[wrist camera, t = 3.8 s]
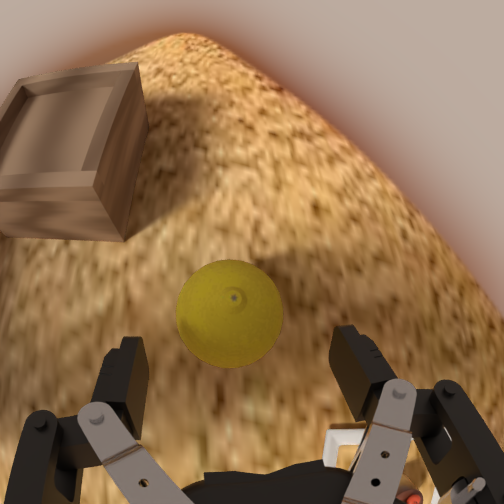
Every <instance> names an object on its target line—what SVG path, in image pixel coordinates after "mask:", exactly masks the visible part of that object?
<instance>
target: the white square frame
mask: <svg viewBox="0 0 504 504" xmlns="http://www.w3.org/2000/svg"><path fill="white" fill-rule="evenodd" d="M444 428H445V427H444ZM445 430H446V428H445ZM364 431H365V429H328V430H327V431H326V437H325V444H324V450H323V457H322V459H323V462H324V465H325V466H329V467H336V461H337V454H338V448H339V446H340V445H357V444H360V441H361V439H362V436H363V433H364ZM446 432H447V430H446ZM447 434H448V432H447ZM448 435H449V434H448ZM449 437H450V436H449ZM450 439H451V437H450ZM411 440H414V439H413V438H411ZM451 441H452V440H451ZM395 497H396V498H398V499H400V500H401V501H403V502H405V503H407V504H423V496H422V493H421V492H420V491H419V490H418V488H417V487H416V486H415V485H414V484H413V483H412V482H411V480H410V479H409V478H408V476H406V475H405V474H403V473H402V476H401V480H400V483H399V486H398V490H397V493H396V496H395ZM439 499H440V496H439V494H438V491H437V489H436V487H435V489H434V494H433V497H432V501H431V504H437V503H438V501H439Z"/></svg>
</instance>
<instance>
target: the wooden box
mask: <svg viewBox="0 0 504 504" xmlns="http://www.w3.org/2000/svg"><path fill="white" fill-rule="evenodd" d="M148 129H149V124H148V119H147V113H146V108H145V102H144V97H143V91H142V85H141V79H140V73H139V66H138V62H130V63H118V64H107V65H98V66H90V67H83V68H75V69H69V70H63V71H57V72H52V73H46V74H41V75H37V76H32V77H27V78H23V79H19V80H18V81H17V82H16V84H15V85H14V87H13V88H12V90H11V92H10V93H9V95H8V96H7V98H6V99H5V101H4V103H3V104H2V106H1V107H0V231H1V232H2V233H3V234H4V235H5V236H7V237H15V238H40V239H64V240H88V241H111V242H124V240H125V234H126V228H127V223H128V217H129V212H130V207H131V202H132V197H133V192H134V187H135V183H136V178H137V174H138V169H139V165H140V161H141V157H142V153H143V149H144V145H145V141H146V137H147V133H148Z"/></svg>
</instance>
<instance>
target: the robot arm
mask: <svg viewBox="0 0 504 504" xmlns="http://www.w3.org/2000/svg"><path fill="white" fill-rule="evenodd" d="M329 364H330V367H331V369H332V372H333V374H334V376H335V378H336V380H337V382H338V384H339V387H340V389H341V391H342V393H343V395H344V397H345V400H346V402H347V404H348V406H349V408H350V410H351V413H352V415H353V417H354V419H355V421H356V422H359V421H363V420H365V421H366V423H367V426H366V428H365V431H364V433H363V436H362V439H361V441H360V444H359V446H358V449H357V451H356V454H355V456H354V458H353V461H352V463H351V465H350V467H349V469H348V471H347V470H344V469H341V468H336V467H329V466H325V465H324V462H323V459H321V460H316V461H310V462H305V463H299V464H294V465H291V466H289V467H286V468H283V469H281V470H278V471H275V472H272V473H270V474H265V475H264V474H253V473H245V472H237V471H227V472H204V480H201V481H198V482H195V483H192V484H190V485H188V486H186V487H184V488H183V489H181V490H180V488H179V487H178V486H177V485H176V484H175V483H174V482H173V481H172V480H171V479H170V478H169V476H168V475H167V474H166V473H165V472H164V471H163V470H162V469H161V467H160V466H159V465H158V464H157V463H156V462H155V460H154V459H153V458H152V457H151V456H150V454H149V453H148V452H147V451H146V449H145V448H144V447H143V446H142V445H139V444H138V443H137V442H136V441H135V440H141V433H142V424H143V416H144V409H145V401H146V394H147V387H148V380H149V366H148V361H147V357H146V353H145V348H144V344H143V339H142V337H123V339H122V342H121V345H120V349H114V348H112V349H111V350H110V351H109V352H108V354H107V355H106V356H105V357H104V360H103V363H102V368H101V370H100V373H99V374H100V375H99V376H98V379H97V383H96V386H95V389H94V392H93V396H92V399H91V402H90V403H89V404H87V405H85V406H84V407H82V408H81V410H80V411H79V413H78V415H75V416H70V417H64V418H56V416H55V415H54V414H53V413H52V412H50V411H47V410H39V411H35V412H33V413H32V414H31V415H29V416H28V418H27V419H26V421H25V424H24V427H23V431H22V434H21V437H20V440H19V444H18V447H17V451H16V454H15V458H14V462H13V465H12V469H11V473H10V478H9V482H8V486H7V491H6V496H5V500H4V504H80V495H81V485H82V476H83V468H88V467H94V466H100V465H103V466H104V467H105V469H106V470H107V472H108V473H109V475H110V476H111V478H112V479H113V481H114V482H115V484H116V485H117V487H118V488H119V489H120V491H121V492H122V494H123V495H124V496H125V498H126V499H127V500H128V502H129V503H130V504H407V503H405V502H403V501H401V500H400V499H398V498H396V497H395V496H396V493H397V490H398V486H399V483H400V480H401V476H402V473H403V469H404V466H405V462H406V458H407V455H408V451H409V447H410V442H411V438H413V439H414V441H415V443H416V445H417V448H418V450H419V452H420V454H421V456H422V458H423V460H424V463H425V465H426V467H427V469H428V471H429V474H430V476H431V478H432V480H433V482H434V485H435V487H436V489H437V491H438V494H439V496H440V499H439V501H438V503H437V504H504V453H503V451H502V449H501V448H500V446H499V444H498V443H497V441H496V439H495V438H494V436H493V435H492V433H491V431H490V430H489V428H488V427H487V425H486V423H485V422H484V420H483V419H482V417H481V416H480V414H479V413H478V411H477V410H476V408H475V407H474V405H473V404H472V402H471V401H470V399H469V398H468V396H467V395H466V393H465V392H464V390H463V389H462V388H461V386H460V385H459V384H457V383H456V382H454V381H451V380H441V381H439V382H437V383H436V385H435V386H434V388H433V389H415V387H414V386H413V385H412V384H411V383H410V382H408V381H406V380H403V379H398V378H397V376H396V375H395V373H394V372H393V370H392V369H391V367H390V365H389V364H388V362H387V361H386V359H385V358H384V357H383V355H382V353H381V352H380V350H378V347H377V346H376V344H375V343H374V341H373V340H371V339H370V338H368V337H367V336H366V335H364V334H363V335H360V334H359V333H358V331H357V330H356V328H355V327H354V325H343V326H336V327H335V328H334V331H333V336H332V341H331V346H330V350H329ZM444 427H445V428H446V430H447V432H448V434H449V435H448V434H447V432H446V430H445V428H444ZM449 436H450V437H451V439H450V437H449ZM451 440H452V441H451Z"/></svg>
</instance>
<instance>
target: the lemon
mask: <svg viewBox="0 0 504 504" xmlns="http://www.w3.org/2000/svg"><path fill="white" fill-rule="evenodd" d="M282 323H283V305H282V301H281V297H280V293H279V291H278V290H277V288H276V286H275V284H274V282H273V281H272V280H271V279H270V278H269V277H268V276H267V275H266V273H265V272H263V271H262V270H260V269H259V268H257V267H256V266H254V265H252V264H249V263H247V262H244V261H239V260H230V259H229V260H221V261H216V262H213V263H210V264H207V265H205V266H203V267H202V268H201V269H199V270H198V271H196V272H195V273H194V274H193V275H192V276H191V277H190V278H189V279H188V281H187V282H186V283H185V284H184V286H183V288H182V290H181V292H180V294H179V297H178V301H177V306H176V324H177V327H178V331H179V334H180V337H181V339H182V340H183V342H184V343H185V345H186V346H187V348H188V350H190V351H191V352H192V353H193V354H194V355H195V356H196V357H197V358H198V359H200V360H202V361H204V362H206V363H208V364H210V365H213V366H217V367H221V368H239V367H242V366H246V365H249V364H252V363H253V362H255V361H257V360H258V359H260V358H262V357H263V356H264V355H265V354H266V353H267V352H268V351H269V350H270V349H271V348H272V347H273V345H274V343H275V342H276V340H277V338H278V336H279V334H280V331H281V327H282Z"/></svg>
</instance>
